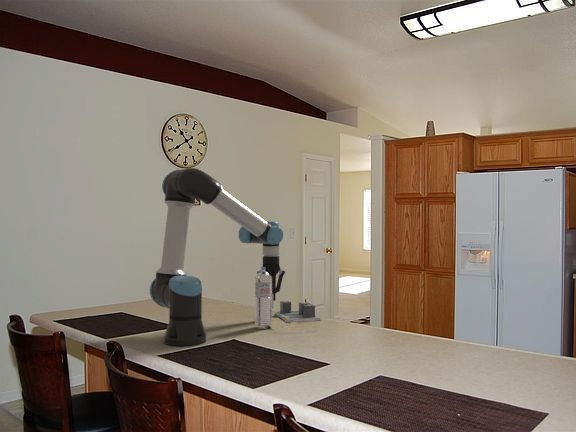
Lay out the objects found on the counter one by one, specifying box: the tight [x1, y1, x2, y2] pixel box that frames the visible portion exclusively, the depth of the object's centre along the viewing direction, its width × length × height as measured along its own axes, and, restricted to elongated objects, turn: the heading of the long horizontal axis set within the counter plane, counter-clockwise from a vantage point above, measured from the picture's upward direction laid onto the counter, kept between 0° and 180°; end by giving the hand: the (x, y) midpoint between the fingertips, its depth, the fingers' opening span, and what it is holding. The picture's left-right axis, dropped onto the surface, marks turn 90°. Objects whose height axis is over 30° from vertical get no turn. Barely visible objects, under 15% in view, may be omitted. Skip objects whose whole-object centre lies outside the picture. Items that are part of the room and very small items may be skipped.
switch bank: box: [274, 309, 321, 323], centre depth 220 cm, size 19×15×3 cm
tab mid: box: [298, 301, 311, 315], centre depth 221 cm, size 4×4×6 cm
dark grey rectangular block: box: [303, 303, 316, 318], centre depth 215 cm, size 4×4×6 cm
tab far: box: [279, 300, 292, 314], centre depth 225 cm, size 4×4×6 cm
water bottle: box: [254, 266, 273, 330], centre depth 205 cm, size 7×7×25 cm
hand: (271, 308), depth 223 cm, fingers closed
